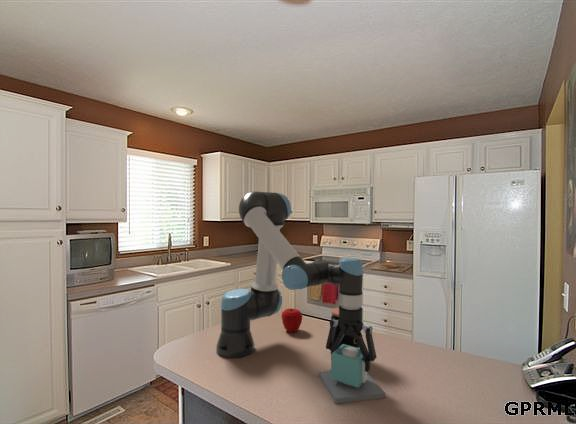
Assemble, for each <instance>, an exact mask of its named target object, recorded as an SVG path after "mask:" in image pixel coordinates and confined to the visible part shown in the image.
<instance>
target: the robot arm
mask: <svg viewBox="0 0 576 424" xmlns="http://www.w3.org/2000/svg"><path fill="white" fill-rule="evenodd" d="M291 213H292V205H291V202H290V200H289V198H288V197H287V196H286V195H285V194H283V193H279V192H269V191H268V192H267V191H266V192H265V191H257V190H256V191H255V190H254V191H250V192H248V193H246V194H245V195H243V197H242V198H241V199H240V201H239V204H238V214H239V217H240V219H241V221H242V222H243V224H244V225H245V226H246V227H248V228H250V229H251V230H252V231H253V233H254V234H255V235H256V237H257V238H258V245H257V255H256V256H257V257H256V266H255V267H256V268H255V279H254V282H253V283H251V284H250V285H251V286H250V290H249V289H247V288H239V289H237V288H236V289H233V290H229V291H227V292H226V293H223V296H222V298H221V305H220V308H221V312H220V313H221V314H220V315H221V316H220V319H221V320H220V321H221V323H220V327H221V328H220V334H219V336H218V340H217V344H216V346H215V347H216V348H215V349H216V351H215V352H216V353H217V354H218V355H219V356H221V357H223V358H231V359H233V358H234V359H235V358H242V357H246V356H249V355H251V354H252V353H253V352H254V351H255V341H254V338H253V335H252V332H251V322H252V321H255V320H258V319H261V318H266V317H271V316H272V315H275V314H277V313H278V312H279V311H280V310H281V307H282V304H283V296H282V293H281V291H280V289H279V288H278V285H277V284H276V273H277V272H276V271H277V265H278V266H279V268H281V269H280V270H282V272H281V280H282V283H283V285H284V287H285V288H287V289H288V290H291V291H292V290H293V291H294V290H303V289H306V288H311V287H316V286H319V285H326V284H330V285H335V286H338V304H339V306H338V307H339V320H336V319H332V320H331V319H330V321H329V332H328V336H327V340H326V345H325V348H326V350H329V351H330V354H331V353H333V352H334V351H335V350H336V349H337V348H338V346H339V344H340V343H341V341H342V339H343V337H344V335H350V336H351V337H354V338H355V340H356V341H357V343H358V346H359V348H360V351H361V353H362V355H363V358H364V360H363V361H362V382H363V383H365V381H366V380H367V372H368V373H369V371H371V362H374V361H375V360H376V359H377V353H376V349H375V343H374V339H373V326H367V325H364V323H363V315H364V314H363V311H364V310H363V302H364V301H363V299H364V298H363V297H364V294H363V283H364V281H363V280H364V268H363V267H364V266H363V261H362V259H361V258H357V257H349V256H348V257H341V258H340V259H339V261H338V262H336V261H331V260H326V259H315V260H313V261H312V262H310V263H309V262H308V263H306V261H305V260H304V259H303V258H302V257H301V256H300V255H299V253H298V252H297V251H296V249H295V248H294V247H293V246H292V244H290V242H289V241H288V240H287V238H286V237H285V235H283V234H282V232H281V231H280V230H281V228H283V226H285V221H286V220H287V219H289V217H290V216H291ZM337 325H339V327H340V328H341V331H340V332H339V335H338V337H337V339H336V341H335V343H334V344H333V340H334V335H335V331H336V326H337ZM362 330H363V333H364V335H365V340H364V338H363V334H362ZM365 341H366V343H365ZM332 344H333V345H332ZM366 344H367V345H366Z"/></svg>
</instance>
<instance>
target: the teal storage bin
mask: <svg viewBox="0 0 576 424" xmlns="http://www.w3.org/2000/svg"><path fill="white" fill-rule="evenodd" d="M345 347H353V346H349V345H345V344H342V345H341V346H340V347H339V348H337V349H336V350H335V351H334V352H333V353H331V352H330V355H331V356H330V360H331V362H330V363H331V365H330V369H331V379H333V380H336V381H339V382H342V383H345V384H348V385H351V386H355V387H359V386H360V385H361V384H362V361H363V360H364V358H363V355H362V353H361V351H360V348H357V347H353V348H356V349H357V350H358V358H357V359H355V358H351V357H347V356H344V355H342V349H343V348H345ZM368 374H369V372H367V376H368Z"/></svg>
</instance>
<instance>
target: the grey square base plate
mask: <svg viewBox="0 0 576 424" xmlns="http://www.w3.org/2000/svg"><path fill="white" fill-rule="evenodd" d="M342 355H344V356H347V357H351V358H355V359H357V358H358V350H357V349H356V348H353V347H345V348H343V349H342ZM318 377H319V379H320V381H321V382H322V384H323V386H324V387H325V389H326V391H327V392H328V394H329V395H330V397H331V400H332V401H333V402H334V404H344V403H345V404H346V403H351V402H354V403H355V402H359V401H360V402H362V401H369V400H378V399H386V391H384V390H383V388H382V387H381V386H380V385H379V384H378V383H377V382H376V381H375V380H374V379H373V378H372V376H370V374H369V373H368V376H367V380H366V381H365V383H363V382H362V384H361V385H360V386H359V387H355V386H351V385H348V384H345V383H342V382H339V381H336V380H333V379H331V370H321V371H318Z"/></svg>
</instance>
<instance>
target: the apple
mask: <svg viewBox="0 0 576 424" xmlns="http://www.w3.org/2000/svg"><path fill="white" fill-rule="evenodd" d="M281 320H282V325H283V327H284V329H285V330H286V331H287V332H288V333H295V332H297V331H298V330H299V328H301V327H300V326H301V325H302V322H303V314H302V312H301V311H300V310H299V309H296V308H285V309H284V310H283V311H282V312H281Z"/></svg>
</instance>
